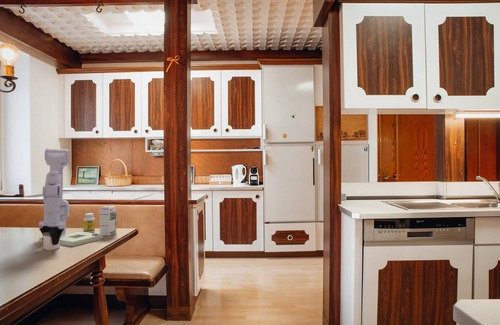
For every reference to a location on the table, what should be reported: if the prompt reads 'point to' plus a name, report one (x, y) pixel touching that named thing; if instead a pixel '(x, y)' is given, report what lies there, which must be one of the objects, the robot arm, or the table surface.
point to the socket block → (79, 238)
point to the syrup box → (108, 220)
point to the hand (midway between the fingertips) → (51, 243)
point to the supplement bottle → (89, 223)
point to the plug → (49, 242)
